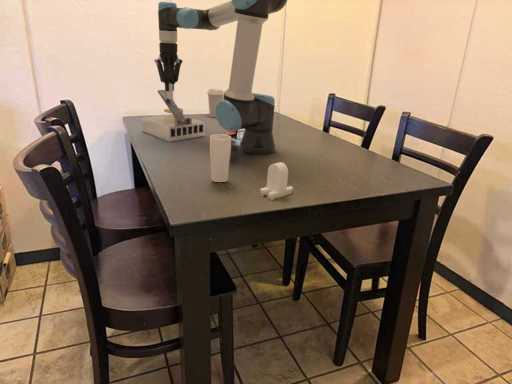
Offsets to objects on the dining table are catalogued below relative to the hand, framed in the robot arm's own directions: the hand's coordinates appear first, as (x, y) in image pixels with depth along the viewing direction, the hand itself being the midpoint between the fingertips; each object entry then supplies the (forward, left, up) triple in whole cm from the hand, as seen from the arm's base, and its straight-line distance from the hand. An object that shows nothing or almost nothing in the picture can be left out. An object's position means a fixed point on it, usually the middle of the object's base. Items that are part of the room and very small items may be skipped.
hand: (169, 98), depth 173 cm
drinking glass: (-60, +21, -17) cm, 66 cm away
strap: (-2, 0, -4) cm, 4 cm away
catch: (+7, -7, -10) cm, 14 cm away
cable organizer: (-79, +14, -17) cm, 82 cm away
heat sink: (0, -2, -16) cm, 16 cm away
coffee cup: (+21, -44, -17) cm, 51 cm away
